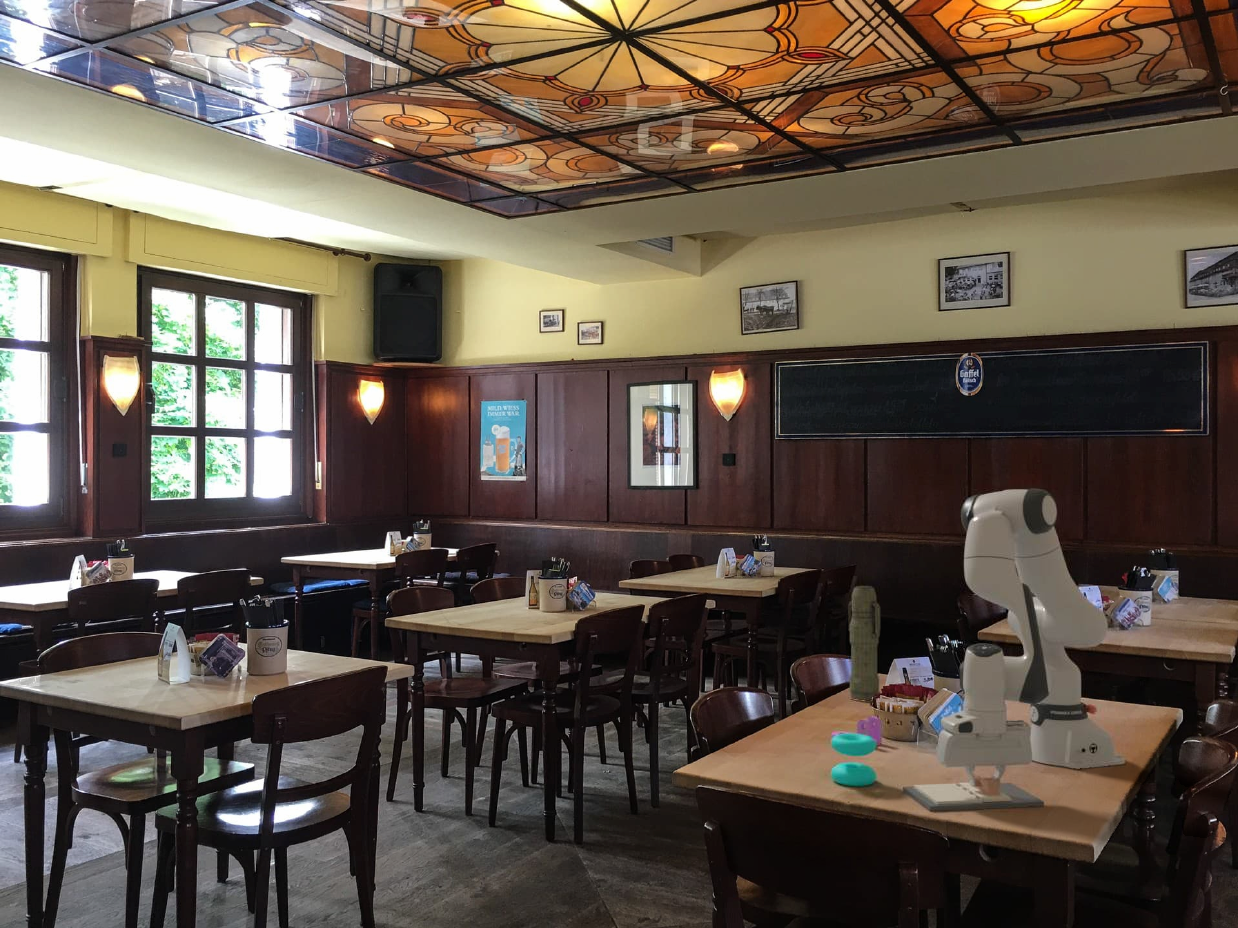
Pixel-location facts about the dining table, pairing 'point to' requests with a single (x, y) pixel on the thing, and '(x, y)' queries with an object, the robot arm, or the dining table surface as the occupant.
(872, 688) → the thermos
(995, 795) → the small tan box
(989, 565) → the robot arm
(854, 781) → the donuts
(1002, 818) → the dining table surface
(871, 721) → the bracket
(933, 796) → the pad
